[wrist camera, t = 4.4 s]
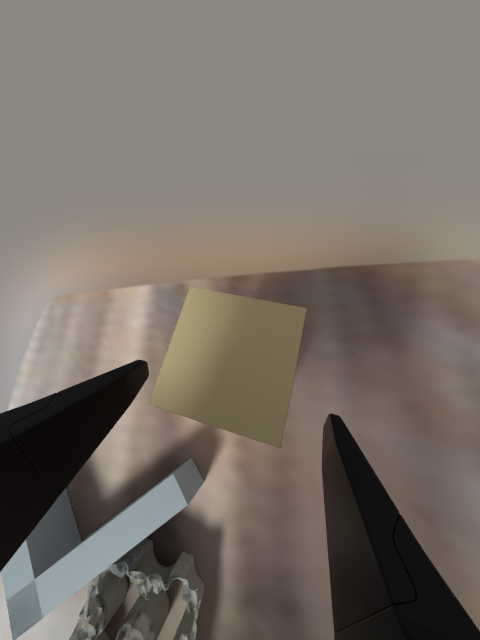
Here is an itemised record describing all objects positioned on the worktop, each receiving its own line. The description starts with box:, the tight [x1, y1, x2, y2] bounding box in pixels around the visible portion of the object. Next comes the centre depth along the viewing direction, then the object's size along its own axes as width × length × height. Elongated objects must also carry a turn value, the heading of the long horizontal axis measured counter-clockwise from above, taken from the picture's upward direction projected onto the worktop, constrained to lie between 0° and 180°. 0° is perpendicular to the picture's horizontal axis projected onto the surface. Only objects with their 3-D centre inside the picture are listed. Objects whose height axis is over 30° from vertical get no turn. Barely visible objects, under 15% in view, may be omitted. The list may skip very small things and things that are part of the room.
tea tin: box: [148, 287, 307, 448], centre depth 14 cm, size 5×5×11 cm
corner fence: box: [1, 458, 204, 640], centre depth 16 cm, size 10×12×4 cm
